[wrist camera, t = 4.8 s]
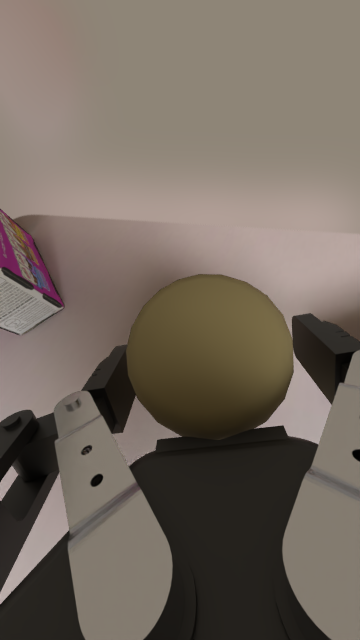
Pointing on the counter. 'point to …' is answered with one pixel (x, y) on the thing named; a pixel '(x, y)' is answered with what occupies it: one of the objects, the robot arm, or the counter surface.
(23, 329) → the candy bar box
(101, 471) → the robot arm
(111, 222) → the counter surface
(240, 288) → the olive knobbed peg
